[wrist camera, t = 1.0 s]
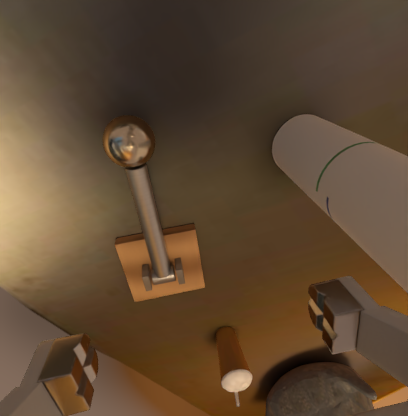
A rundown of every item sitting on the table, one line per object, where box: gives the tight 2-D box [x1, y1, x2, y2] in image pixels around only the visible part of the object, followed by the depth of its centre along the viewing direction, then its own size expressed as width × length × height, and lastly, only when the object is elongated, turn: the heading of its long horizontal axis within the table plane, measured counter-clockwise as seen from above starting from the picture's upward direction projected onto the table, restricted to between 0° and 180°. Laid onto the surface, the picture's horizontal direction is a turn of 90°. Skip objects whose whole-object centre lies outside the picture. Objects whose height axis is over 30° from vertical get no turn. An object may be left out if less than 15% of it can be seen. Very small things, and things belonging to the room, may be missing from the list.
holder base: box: [115, 224, 205, 302], centre depth 38 cm, size 10×10×4 cm
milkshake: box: [216, 327, 252, 407], centre depth 45 cm, size 4×5×10 cm
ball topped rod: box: [102, 115, 176, 285], centre depth 33 cm, size 21×5×5 cm, turn 7°
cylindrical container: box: [272, 114, 408, 293], centre depth 24 cm, size 7×7×25 cm
